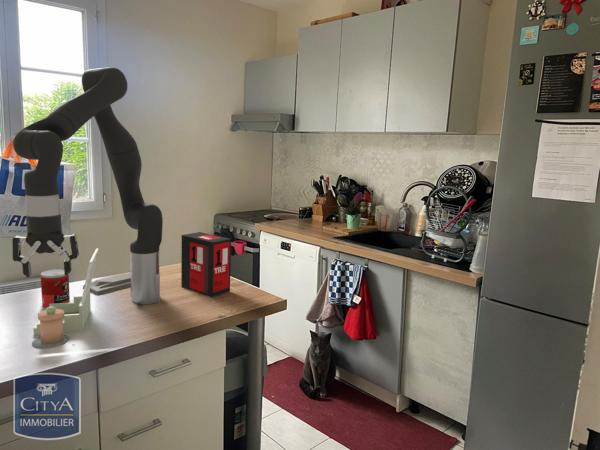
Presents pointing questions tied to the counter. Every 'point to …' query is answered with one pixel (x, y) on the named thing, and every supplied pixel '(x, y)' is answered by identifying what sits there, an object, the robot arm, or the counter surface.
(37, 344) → the slate saucer
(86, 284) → the glass lid
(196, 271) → the cleaning product box
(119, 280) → the soap mold
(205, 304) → the counter surface
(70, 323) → the box
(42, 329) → the terracotta pot
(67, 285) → the canned food
